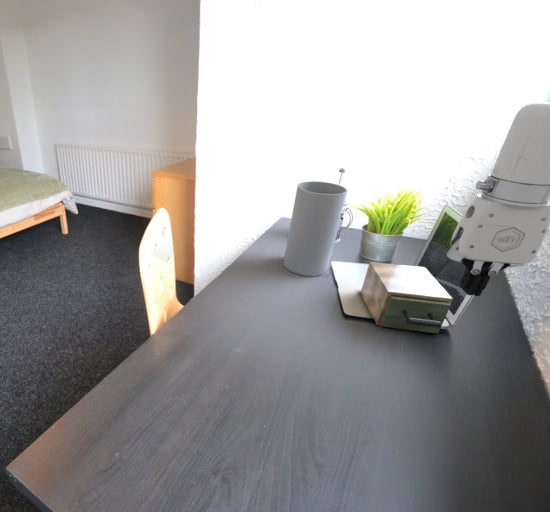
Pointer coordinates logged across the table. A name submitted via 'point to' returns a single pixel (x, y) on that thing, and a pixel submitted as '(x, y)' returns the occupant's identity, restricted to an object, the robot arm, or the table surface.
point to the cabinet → (398, 286)
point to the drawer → (415, 314)
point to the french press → (342, 215)
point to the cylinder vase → (314, 227)
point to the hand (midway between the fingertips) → (469, 291)
